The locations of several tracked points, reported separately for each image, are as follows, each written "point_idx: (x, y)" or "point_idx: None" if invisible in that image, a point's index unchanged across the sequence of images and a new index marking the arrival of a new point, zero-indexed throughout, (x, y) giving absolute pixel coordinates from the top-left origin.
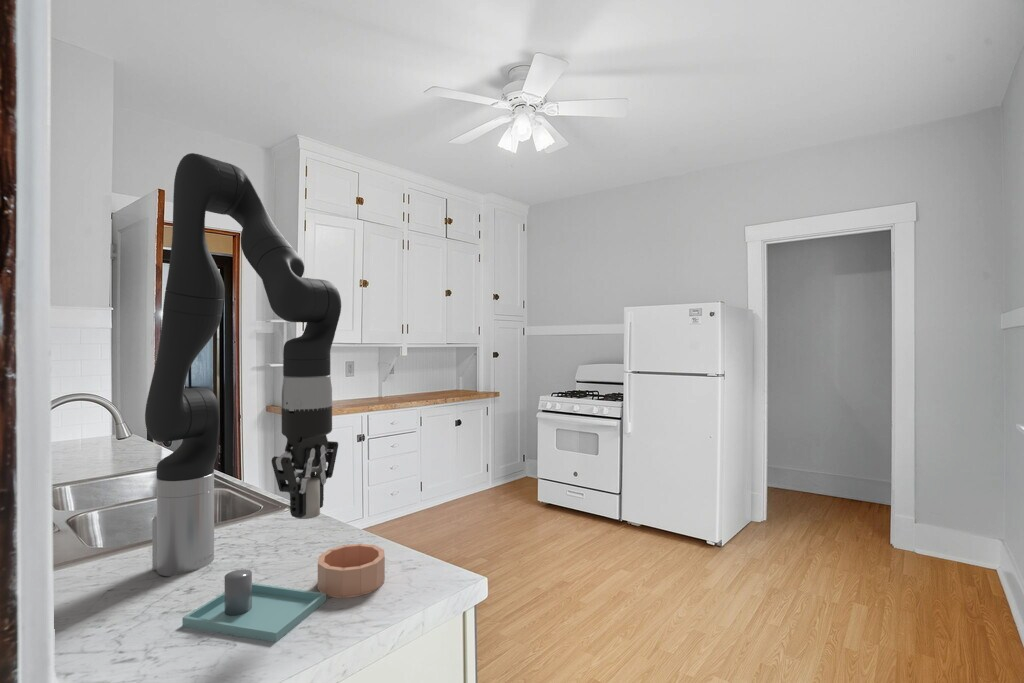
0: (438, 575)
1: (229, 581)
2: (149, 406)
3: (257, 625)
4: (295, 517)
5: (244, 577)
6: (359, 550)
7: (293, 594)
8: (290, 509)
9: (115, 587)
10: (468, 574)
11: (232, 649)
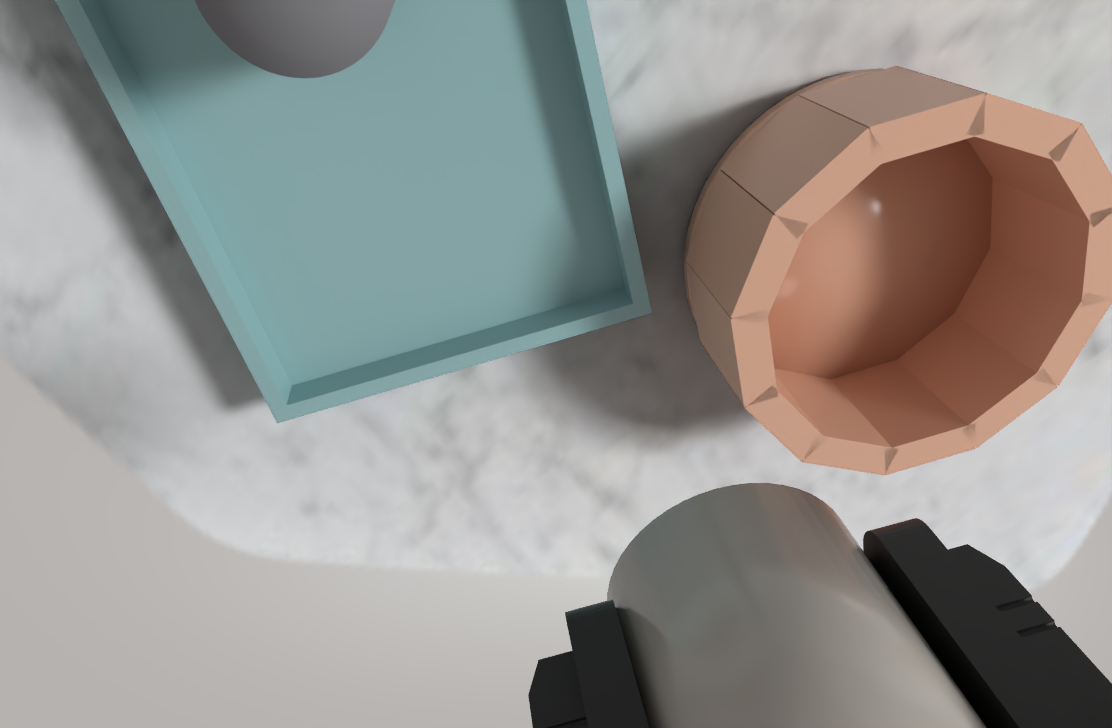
0: (1042, 472)
1: (199, 2)
2: None
3: (301, 221)
4: (612, 574)
5: (297, 68)
6: (1067, 213)
7: (592, 134)
8: (532, 715)
9: None
10: (1074, 548)
11: (142, 260)
